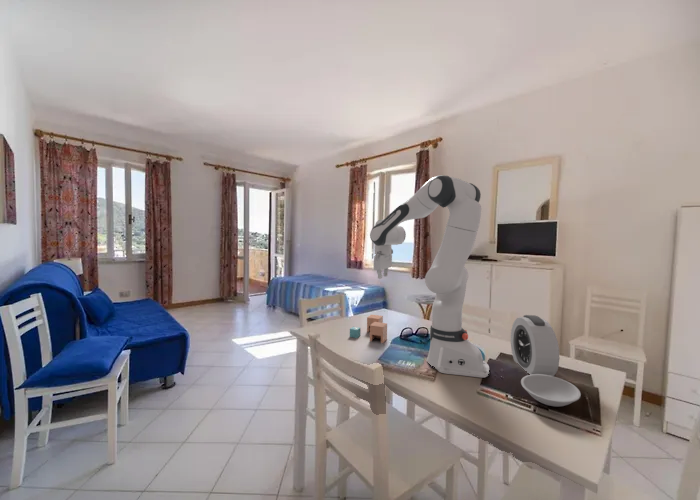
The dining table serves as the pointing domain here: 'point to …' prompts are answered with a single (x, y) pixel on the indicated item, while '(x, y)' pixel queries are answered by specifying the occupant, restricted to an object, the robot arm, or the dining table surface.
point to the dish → (550, 389)
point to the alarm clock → (535, 345)
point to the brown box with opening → (378, 331)
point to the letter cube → (355, 332)
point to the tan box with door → (373, 320)
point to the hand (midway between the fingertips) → (382, 277)
